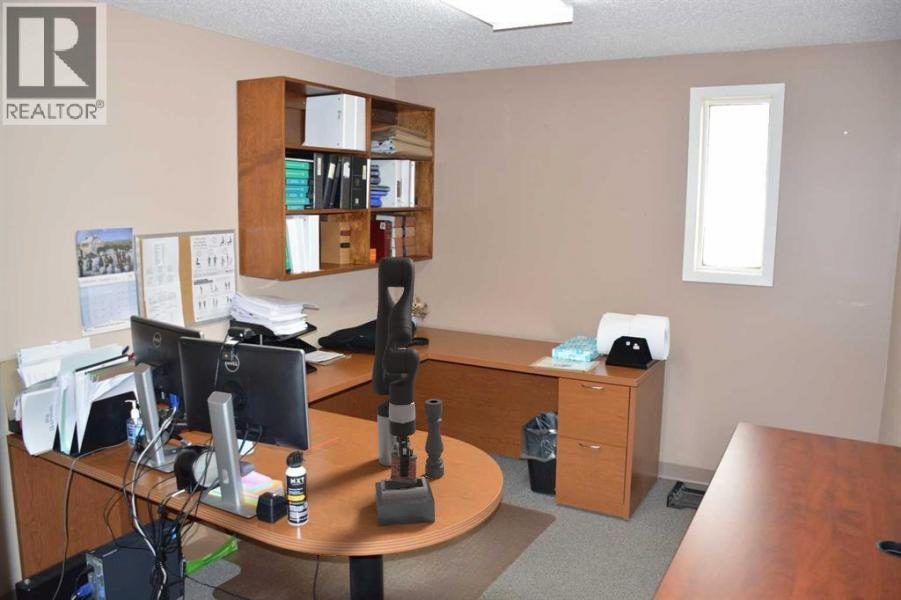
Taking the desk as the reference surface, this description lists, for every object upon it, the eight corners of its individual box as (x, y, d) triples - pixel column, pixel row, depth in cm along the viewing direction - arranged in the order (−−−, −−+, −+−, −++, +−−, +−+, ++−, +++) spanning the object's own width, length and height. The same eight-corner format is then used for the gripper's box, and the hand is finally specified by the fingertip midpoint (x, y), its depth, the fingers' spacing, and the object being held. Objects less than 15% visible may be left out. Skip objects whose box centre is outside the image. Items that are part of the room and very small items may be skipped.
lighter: (418, 479, 205) (419, 446, 204) (414, 483, 202) (414, 449, 201) (393, 475, 208) (393, 442, 207) (388, 479, 205) (388, 445, 204)
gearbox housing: (375, 501, 214) (374, 474, 212) (428, 497, 216) (427, 470, 215) (378, 526, 198) (377, 497, 197) (434, 521, 200) (434, 493, 199)
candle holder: (441, 479, 229) (441, 405, 224) (423, 478, 230) (422, 404, 226) (445, 471, 235) (445, 399, 230) (427, 470, 236) (426, 398, 232)
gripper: (387, 409, 209) (388, 464, 212) (390, 426, 195) (392, 484, 198) (412, 408, 210) (414, 462, 213) (417, 424, 196) (419, 482, 199)
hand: (403, 473), depth 205 cm, fingers closed on lighter, 4 cm apart
